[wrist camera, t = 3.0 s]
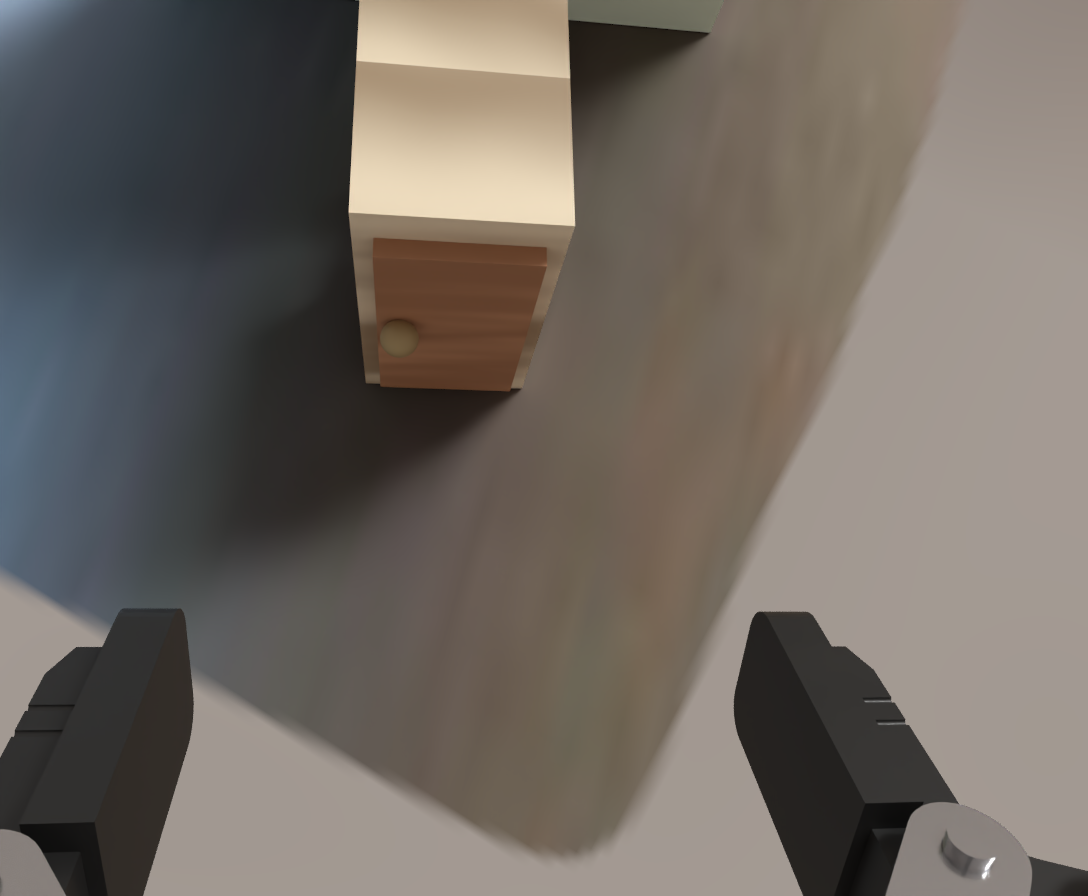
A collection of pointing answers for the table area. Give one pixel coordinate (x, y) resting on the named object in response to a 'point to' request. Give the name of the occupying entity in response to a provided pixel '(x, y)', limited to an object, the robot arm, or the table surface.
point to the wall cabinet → (459, 187)
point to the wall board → (648, 13)
